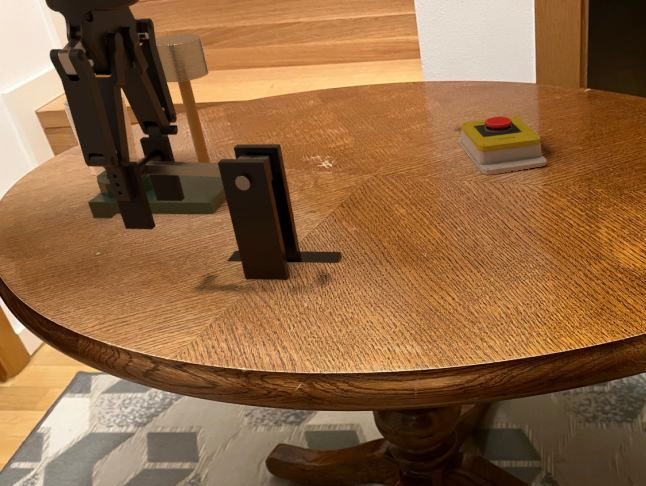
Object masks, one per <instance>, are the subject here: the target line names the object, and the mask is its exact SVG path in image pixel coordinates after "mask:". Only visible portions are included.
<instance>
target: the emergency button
mask: <svg viewBox="0 0 646 486" xmlns="http://www.w3.org/2000/svg"><path fill="white" fill-rule="evenodd" d="M457 142H458V145H459V146H460V147H461V148H462V149H463V151H464V152H465V153H466V154H467V156H468V157H469V158H470V160H471V161H472V163H473V164H474V165H475V166H476V168H477V169H478V170H479V171H480V173H481V174H483V175H487V176H489V175H491V176H492V175H499V174H505V172H506V173H512V172H511V171H513V172H519V171H518V170H521V171H524V170H523V169H528V168H533V167H540V166H545V165H546V164H547V165H548V159H547V158H546V157H545V156H544V155H543V154H542V138H541V136H540V135H539V134H538V133H537V132H536V131H535V130H533V128H532V127H530V126H529V125H528V124H527V123H526V122H525V121H523V119H521V118H520V117H519V116H515V115H513V116H494V117H489V118H487V119H480V120H479V119H478V120H470V121H465V122H464V121H463V122H462V123H461V125H460V136H458V141H457ZM528 170H529V169H528Z"/></svg>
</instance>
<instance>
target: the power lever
mask: <svg viewBox="0 0 646 486" xmlns="http://www.w3.org/2000/svg"><path fill="white" fill-rule="evenodd" d="M238 159H267V163H268V168H269V173H270V178H271V181H272V180H273V176H272V169H271V163H270V157H269V156H261V155H241V156H240V157H239V158H238ZM164 160H165V156H164V154H163V153H162V152H161V151H159V150H153V151H151V152H150V153H149V154H147V155H146V156H145V157H142V158H141V159H139V161H138V162H137V165H138V168H139V171H140V175H141V178H142V179H143V178H144V177H146V176H147V175H148V174H153V175H180V176H206V177H221V175H220V171H219V166H218V162H210V163H201V162H198V161H175V162H173V161H164Z"/></svg>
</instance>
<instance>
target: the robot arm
mask: <svg viewBox="0 0 646 486" xmlns="http://www.w3.org/2000/svg"><path fill="white" fill-rule="evenodd" d="M139 2H140V0H45V4H46V6H47V7H48V8H49V9H50V10H51V11H53V12H55V13H59V14H61V16H62V17H63V18H64V21H65V27H66V29H65V30H66V31H65V32H66V39H67V43H66V45H65V46H63V48H52V49H50V50H49V59H50V61H51V63H52V65H53V67H54V69H55V71H56V73H57V75H58V77H59V79H60V81H61V85H62V88H63V91H64V94H65V98H66V101H67V102H68V105H69V109H70V112H71V116H72V119H73V122H74V126H75V129H76V133H77V136H78V140H79V143H80V146H81V149H80V150H81V153H82V157H83V161H84V163H85V165H86V166H87V167H88V168H89V167H104V168H105V170H106V172H107V175H108V179H109V182H110V185H111V188H112V190H113V194H114V197H115V198H116V200H117V203H118V206H119V210H120V213H121V214H120V216H121V219H122V222H123V225H124V228H125V230H153V229H154V228H155V227H156V223H155V219H154V215H153V214H152V212H151V209H150V205H149V202H148V199H147V195H146V192H145V188H144V185H143V182H142V178H141V175H140V171H139V168H138V165H137V162H130V157H129V149H128V141H127V133H126V126H125V118H124V110H123V102H122V94H123V95H124V97H125V98H126V100H127V102H128V104H129V106H130V109H131V110H132V112H133V115H134V117H135V119H136V121H137V123H138V125H139V127H140V129H141V131H142V133H143V134H144V135H145V136H143V137H141V138H139V143H140V147H141V149H142V153H143V156H144V157H145V156H146V155H147V154H149V153H150V152H151V151H153V150H159V151H161V152H162V153H163V154H164V156H165V160H164V161H173V162H176V160H175V156H174V152H173V148H172V143H171V140H170V137H169V136H177V135H178V133H179V127H178V124H175V123H176V122H177V119H178V116H177V113H176V108H175V105H174V102H173V98H172V95H171V91H170V88H169V84H168V82H167V81H166V77H165V74H164V70H163V67H162V63H161V60H160V56H159V53H158V49H157V46H156V40H155V38H156V32H155V25H154V21H153V19H151V18H150V17H149V18H147V17H146V18H145V17H144V18H143V17H142V18H135V15H134V14H133V12H132V10H131V8H130V7H131V6H134V5H136V4H137V3H139ZM171 123H172V124H171ZM80 146H79V147H80ZM116 152H117V153H116ZM144 157H143V158H144ZM150 178H151V181H152V185H153V188H154V192H155V195H156V199H157V201H182V200H183V199H184V198H185V197H184V194H183V190H182V186H181V182H180V178H179V175H153V174H150Z"/></svg>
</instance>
